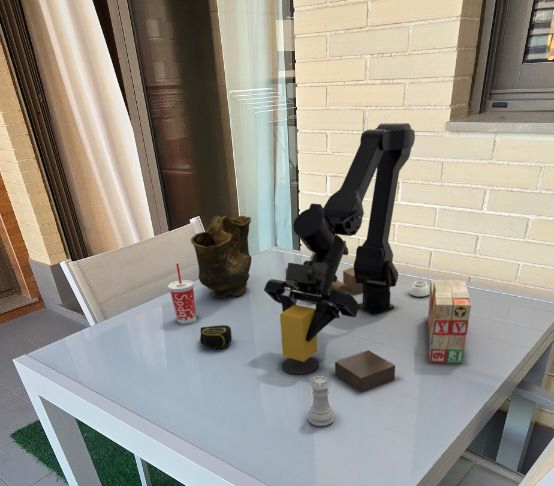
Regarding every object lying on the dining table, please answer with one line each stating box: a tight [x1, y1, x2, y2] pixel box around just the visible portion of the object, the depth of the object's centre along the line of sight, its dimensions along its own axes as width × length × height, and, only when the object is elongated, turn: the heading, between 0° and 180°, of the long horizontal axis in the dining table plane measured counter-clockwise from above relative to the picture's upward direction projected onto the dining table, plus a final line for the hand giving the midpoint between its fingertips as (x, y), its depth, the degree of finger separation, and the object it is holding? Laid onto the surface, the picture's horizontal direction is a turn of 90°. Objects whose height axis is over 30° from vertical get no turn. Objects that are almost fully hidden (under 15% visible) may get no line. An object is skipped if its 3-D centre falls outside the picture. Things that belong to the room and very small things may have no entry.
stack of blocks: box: [427, 279, 472, 364], centre depth 110 cm, size 21×6×12 cm, turn 168°
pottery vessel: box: [190, 215, 252, 299], centre depth 141 cm, size 25×11×20 cm, turn 162°
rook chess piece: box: [307, 375, 335, 428], centre depth 89 cm, size 4×4×8 cm
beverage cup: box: [167, 262, 197, 325], centre depth 128 cm, size 6×6×14 cm
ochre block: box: [279, 304, 318, 362], centre depth 104 cm, size 5×5×9 cm
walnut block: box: [334, 349, 396, 393], centre depth 102 cm, size 8×8×3 cm
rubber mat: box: [281, 356, 320, 376], centre depth 108 cm, size 8×8×1 cm
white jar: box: [409, 280, 430, 298], centre depth 135 cm, size 5×3×5 cm
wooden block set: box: [284, 267, 363, 296], centre depth 143 cm, size 17×6×18 cm
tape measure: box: [199, 324, 233, 349], centre depth 118 cm, size 7×7×4 cm
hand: (295, 338), depth 104 cm, fingers closed on ochre block, 5 cm apart
